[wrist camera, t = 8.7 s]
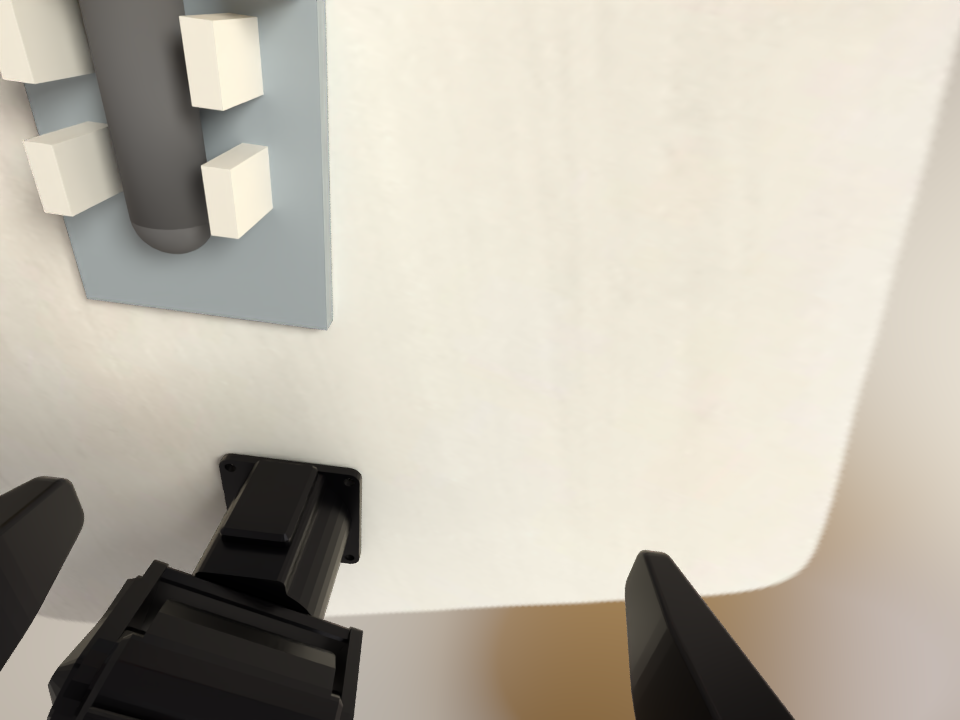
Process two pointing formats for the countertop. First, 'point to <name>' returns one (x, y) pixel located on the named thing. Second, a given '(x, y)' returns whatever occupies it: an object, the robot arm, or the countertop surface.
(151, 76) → the cable
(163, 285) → the board
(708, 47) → the countertop surface
